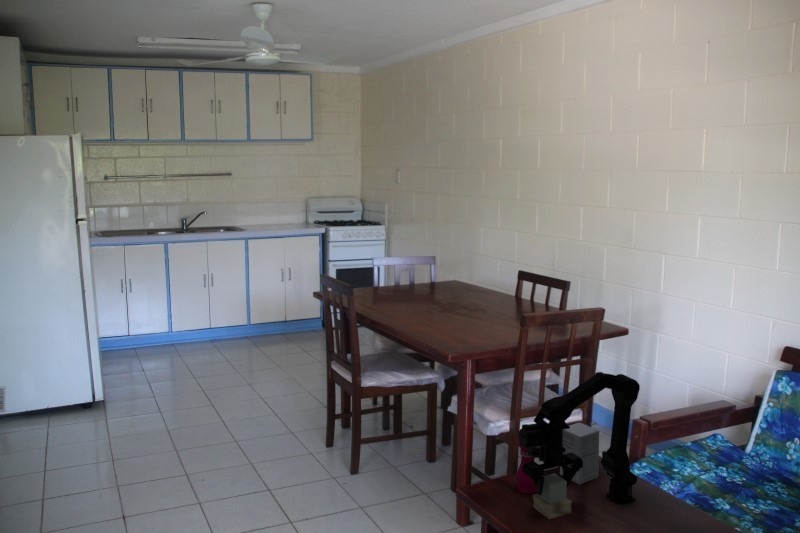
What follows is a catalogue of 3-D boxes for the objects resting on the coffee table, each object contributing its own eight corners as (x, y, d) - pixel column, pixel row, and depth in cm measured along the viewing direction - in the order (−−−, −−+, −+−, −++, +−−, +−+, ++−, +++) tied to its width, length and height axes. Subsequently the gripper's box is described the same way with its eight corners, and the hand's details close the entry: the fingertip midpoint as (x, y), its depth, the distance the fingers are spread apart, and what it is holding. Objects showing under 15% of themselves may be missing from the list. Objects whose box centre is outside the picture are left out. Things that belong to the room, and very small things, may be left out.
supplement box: (578, 467, 233) (579, 421, 231) (599, 477, 226) (600, 430, 223) (558, 474, 228) (559, 427, 226) (579, 485, 221) (580, 436, 218)
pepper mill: (543, 490, 217) (544, 431, 215) (527, 497, 213) (528, 437, 211) (527, 482, 223) (528, 425, 220) (511, 488, 219) (511, 430, 216)
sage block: (554, 491, 208) (554, 473, 207) (566, 500, 203) (566, 481, 202) (538, 495, 206) (538, 477, 205) (550, 504, 200) (550, 485, 200)
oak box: (555, 501, 210) (555, 489, 210) (571, 513, 203) (572, 501, 202) (532, 507, 207) (532, 494, 206) (548, 519, 199) (549, 507, 199)
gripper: (561, 428, 213) (561, 475, 215) (511, 439, 205) (511, 486, 208) (584, 441, 203) (583, 489, 205) (533, 452, 195) (532, 503, 197)
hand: (552, 491), depth 204 cm, fingers open, 9 cm apart
